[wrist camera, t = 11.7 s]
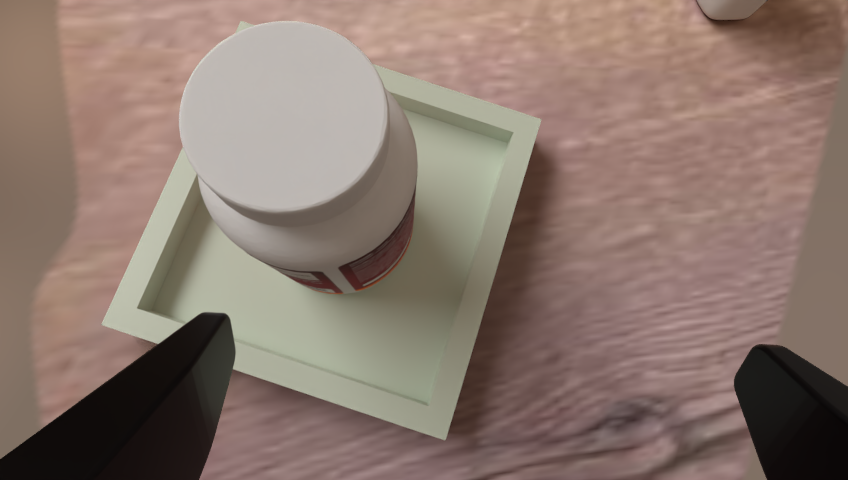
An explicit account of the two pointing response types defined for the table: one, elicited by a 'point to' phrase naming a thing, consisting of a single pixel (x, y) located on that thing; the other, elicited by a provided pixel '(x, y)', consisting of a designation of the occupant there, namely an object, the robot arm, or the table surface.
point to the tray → (365, 310)
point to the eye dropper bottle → (729, 8)
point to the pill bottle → (302, 155)
